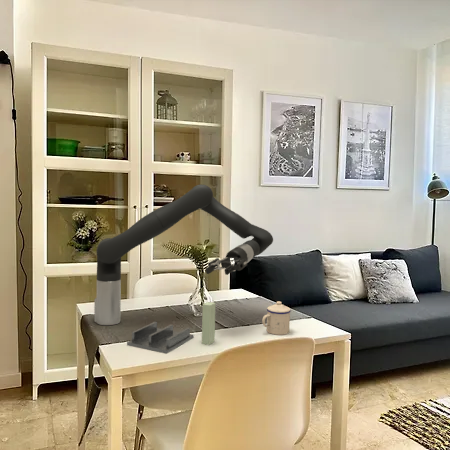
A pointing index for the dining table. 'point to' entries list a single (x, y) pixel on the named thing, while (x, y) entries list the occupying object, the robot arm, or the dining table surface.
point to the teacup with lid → (277, 319)
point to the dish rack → (159, 338)
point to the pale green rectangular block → (208, 323)
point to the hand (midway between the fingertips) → (216, 271)
